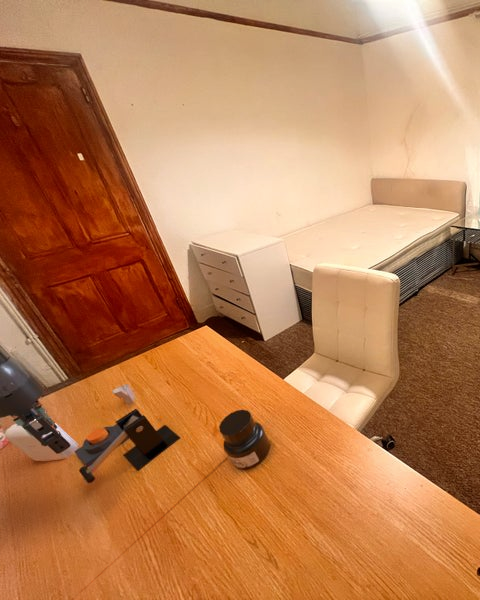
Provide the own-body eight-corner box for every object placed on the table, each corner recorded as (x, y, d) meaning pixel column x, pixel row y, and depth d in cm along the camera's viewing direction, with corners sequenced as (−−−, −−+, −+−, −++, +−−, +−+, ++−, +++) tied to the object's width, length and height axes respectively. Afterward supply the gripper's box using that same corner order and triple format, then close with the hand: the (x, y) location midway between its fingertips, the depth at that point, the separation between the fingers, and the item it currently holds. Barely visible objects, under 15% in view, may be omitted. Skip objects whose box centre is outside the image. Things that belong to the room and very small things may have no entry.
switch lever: (93, 484, 68) (82, 482, 66) (85, 473, 70) (74, 470, 69) (148, 424, 75) (139, 421, 73) (138, 416, 77) (130, 412, 75)
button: (94, 447, 77) (89, 442, 76) (88, 440, 79) (84, 436, 78) (111, 435, 80) (107, 431, 79) (105, 429, 81) (101, 425, 80)
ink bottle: (223, 463, 75) (203, 432, 69) (249, 432, 82) (233, 402, 75) (254, 475, 72) (237, 444, 65) (279, 442, 79) (265, 411, 72)
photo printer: (31, 463, 78) (-6, 433, 72) (47, 447, 82) (13, 417, 76) (69, 461, 78) (36, 431, 72) (84, 445, 82) (53, 415, 75)
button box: (89, 469, 76) (79, 460, 74) (79, 456, 79) (69, 447, 77) (135, 437, 83) (127, 428, 81) (124, 426, 86) (116, 417, 84)
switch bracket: (139, 473, 74) (112, 443, 68) (125, 457, 78) (98, 428, 72) (181, 439, 81) (160, 410, 75) (167, 427, 85) (145, 398, 79)
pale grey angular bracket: (128, 396, 96) (114, 378, 92) (135, 393, 97) (121, 375, 93) (127, 411, 91) (111, 392, 87) (134, 408, 92) (119, 389, 87)
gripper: (-39, 384, 56) (23, 438, 65) (-24, 417, 50) (43, 472, 58) (18, 359, 62) (69, 412, 70) (39, 385, 55) (92, 441, 63)
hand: (57, 439), depth 64 cm, fingers open, 8 cm apart
